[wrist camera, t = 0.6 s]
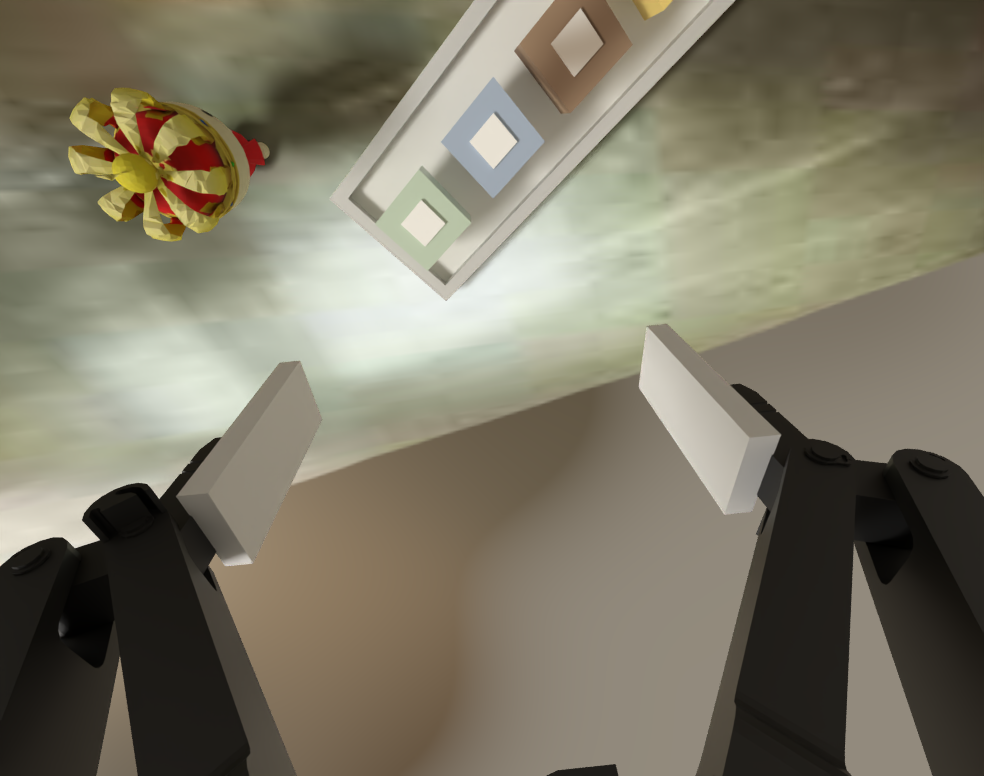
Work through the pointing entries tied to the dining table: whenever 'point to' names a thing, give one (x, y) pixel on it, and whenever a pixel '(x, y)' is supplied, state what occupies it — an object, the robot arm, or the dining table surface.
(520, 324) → the dining table surface
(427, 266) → the key
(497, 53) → the base
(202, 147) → the toy
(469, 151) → the blue square block
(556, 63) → the key
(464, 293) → the dining table surface
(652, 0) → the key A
